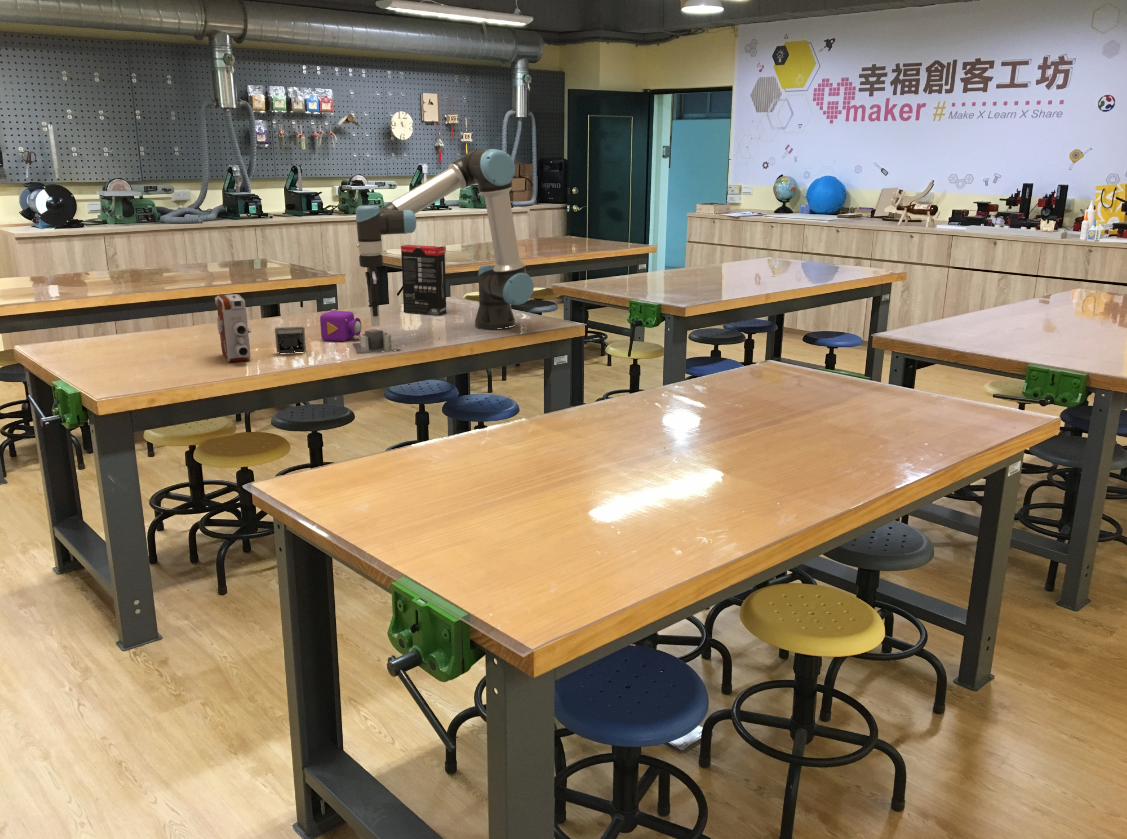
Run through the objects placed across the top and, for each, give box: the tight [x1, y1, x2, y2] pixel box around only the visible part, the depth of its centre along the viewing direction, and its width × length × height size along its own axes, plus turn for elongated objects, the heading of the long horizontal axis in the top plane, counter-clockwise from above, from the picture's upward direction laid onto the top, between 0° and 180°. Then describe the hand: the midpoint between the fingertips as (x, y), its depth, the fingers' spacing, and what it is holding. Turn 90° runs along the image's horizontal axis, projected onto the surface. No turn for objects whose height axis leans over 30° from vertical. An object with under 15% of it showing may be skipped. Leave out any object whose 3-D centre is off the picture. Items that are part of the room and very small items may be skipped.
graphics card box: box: [400, 244, 447, 316], centre depth 363 cm, size 17×7×27 cm, turn 69°
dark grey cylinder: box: [364, 329, 384, 348], centre depth 303 cm, size 6×6×5 cm
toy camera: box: [319, 308, 362, 342], centre depth 316 cm, size 11×14×10 cm
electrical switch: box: [274, 325, 307, 355], centre depth 294 cm, size 9×5×9 cm, turn 107°
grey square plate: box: [351, 331, 401, 354], centre depth 303 cm, size 14×14×5 cm
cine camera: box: [214, 293, 252, 363], centre depth 284 cm, size 9×19×20 cm, turn 28°
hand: (375, 325), depth 302 cm, fingers closed
